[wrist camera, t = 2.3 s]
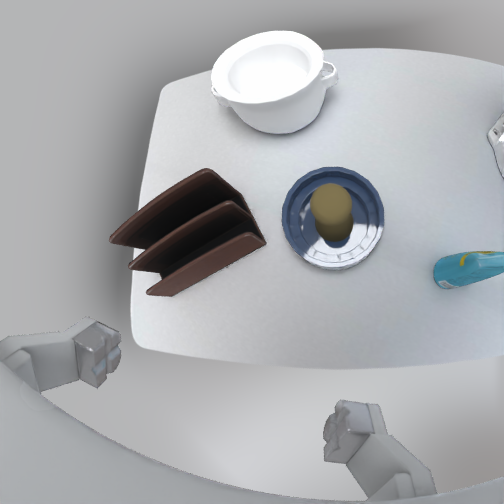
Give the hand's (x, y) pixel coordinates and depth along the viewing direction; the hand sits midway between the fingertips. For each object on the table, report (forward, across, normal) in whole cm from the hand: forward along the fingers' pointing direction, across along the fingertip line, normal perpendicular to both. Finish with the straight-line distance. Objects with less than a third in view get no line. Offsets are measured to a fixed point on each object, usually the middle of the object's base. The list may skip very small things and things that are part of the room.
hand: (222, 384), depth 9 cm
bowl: (+36, -8, -3) cm, 37 cm away
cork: (+36, -8, -3) cm, 37 cm away
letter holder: (+39, +12, +7) cm, 41 cm away
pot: (+46, +6, -22) cm, 51 cm away
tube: (+31, -26, -2) cm, 41 cm away
